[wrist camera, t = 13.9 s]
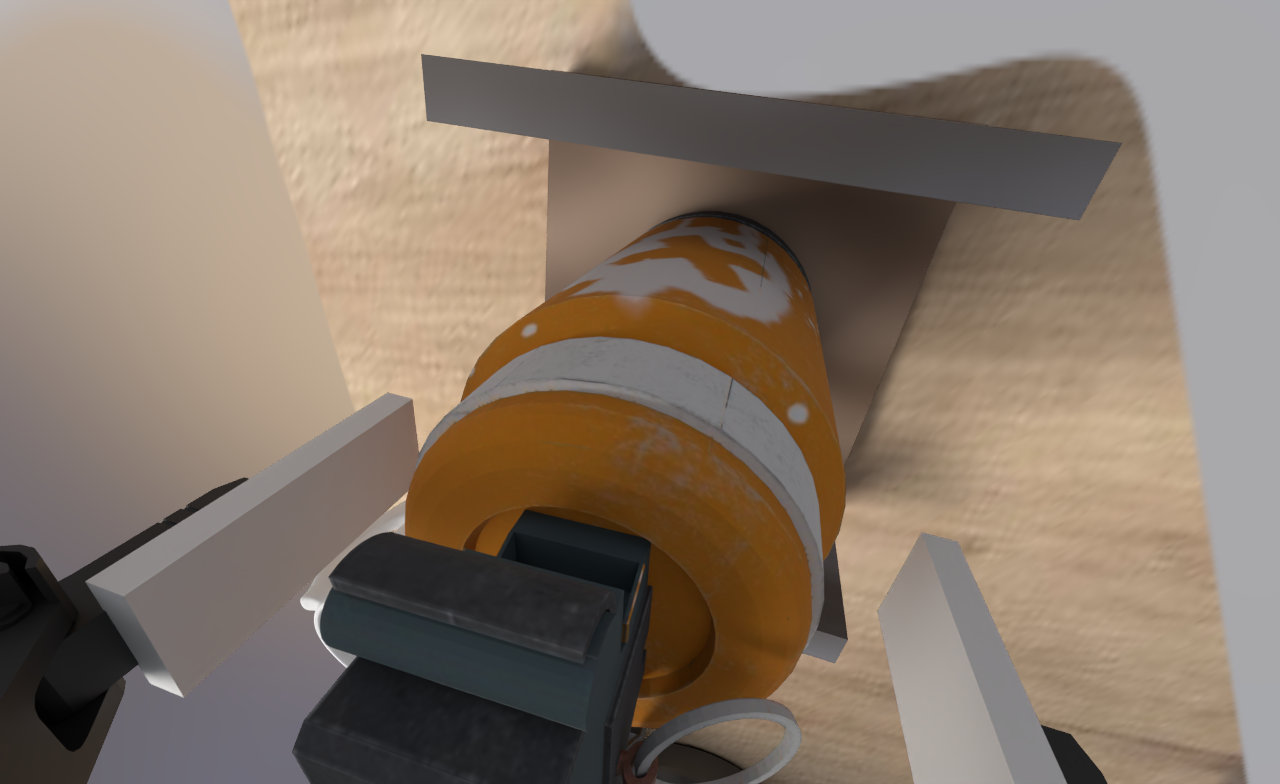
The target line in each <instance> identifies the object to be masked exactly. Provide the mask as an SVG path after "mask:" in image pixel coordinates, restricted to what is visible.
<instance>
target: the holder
mask: <svg viewBox="0 0 1280 784" xmlns="http://www.w3.org/2000/svg"><path fill="white" fill-rule="evenodd" d="M421 56H422V68H423V80H424V91H425V103H426V114H427V121H432V122H438V123H445V124H451V125H458V126H465V127H471V128H478V129H484V130H491V131H497V132H504V133H510V134H517V135H523V136H530V137H537V138H543V139H549V169H548V209H547V250H546V290H545V302H546V301H547V300H549V299H550V298H552V297H553V296H554V295H556V294H557V293H559V292H560V291H562V290H563V289H565V288H566V287H567V286H569V285H570V284H572V283H573V282H575V281H576V280H578V279H579V278H580V277H582V276H583V275H585V274H586V273H588V272H589V271H591V270H592V269H593V268H595V267H596V266H598V265H599V264H601V263H602V262H604V261H605V260H606V259H608V258H609V257H611V256H612V255H614V254H615V253H617V252H618V251H620V250H621V249H622V248H624V247H625V246H627V245H628V244H630V243H631V242H633V241H634V240H635V239H637V238H638V237H640V236H641V235H643V234H644V233H646V232H647V231H648V230H650V229H651V228H653V227H654V226H656V225H658V224H660V223H662V222H664V221H666V220H668V219H670V218H673V217H676V216H679V215H682V214H686V213H692V212H698V211H722V212H727V213H733V214H738V215H740V216H743V217H746V218H749V219H752V220H754V221H756V222H758V223H760V224H761V225H763V226H765V227H767V228H768V229H770V230H771V231H772V232H774V233H775V234H776V235H777V236H779V237H780V238H781V239H782V240H783V241H784V242H785V243H786V244H787V245H788V246H789V247H790V249H791V250H792V251H793V252H794V253H795V255H796V256H797V258H798V260H799V261H800V263H801V265H802V266H803V268H804V270H805V273H806V275H807V278H808V281H809V283H810V287H811V292H812V297H813V303H814V308H815V313H816V319H817V324H818V330H819V335H820V341H821V346H822V351H823V357H824V362H825V368H826V373H827V379H828V384H829V389H830V395H831V400H832V406H833V411H834V417H835V422H836V428H837V433H838V438H839V444H840V449H841V455H842V460H843V466H845V463H846V461H847V458H848V456H849V454H850V451H851V449H852V447H853V444H854V442H855V439H856V437H857V435H858V432H859V430H860V428H861V425H862V423H863V420H864V418H865V416H866V413H867V411H868V409H869V406H870V404H871V402H872V399H873V397H874V394H875V392H876V390H877V387H878V385H879V383H880V380H881V378H882V375H883V373H884V371H885V368H886V366H887V364H888V361H889V359H890V356H891V354H892V352H893V349H894V347H895V345H896V342H897V340H898V338H899V335H900V333H901V330H902V328H903V326H904V323H905V321H906V319H907V316H908V314H909V311H910V309H911V307H912V304H913V302H914V300H915V297H916V295H917V292H918V290H919V288H920V285H921V283H922V281H923V278H924V276H925V274H926V271H927V269H928V266H929V264H930V262H931V259H932V257H933V255H934V252H935V250H936V247H937V245H938V243H939V240H940V238H941V236H942V233H943V231H944V228H945V226H946V224H947V221H948V219H949V217H950V214H951V212H952V210H953V207H954V205H955V202H962V203H969V204H975V205H982V206H988V207H995V208H1002V209H1008V210H1015V211H1021V212H1028V213H1034V214H1041V215H1047V216H1054V217H1060V218H1067V219H1074V220H1080V218H1081V216H1082V215H1083V213H1084V211H1085V209H1086V207H1087V206H1088V204H1089V202H1090V200H1091V198H1092V197H1093V195H1094V193H1095V191H1096V189H1097V188H1098V186H1099V184H1100V182H1101V180H1102V178H1103V177H1104V175H1105V173H1106V171H1107V169H1108V168H1109V166H1110V164H1111V162H1112V160H1113V159H1114V157H1115V155H1116V153H1117V151H1118V149H1119V148H1120V146H1121V144H1122V143H1117V142H1109V141H1101V140H1093V139H1086V138H1078V137H1070V136H1062V135H1054V134H1046V133H1038V132H1030V131H1023V130H1015V129H1007V128H999V127H991V126H988V125H982V124H974V123H966V122H958V121H950V120H942V119H934V118H926V117H918V116H911V115H903V114H895V113H887V112H879V111H871V110H863V109H855V108H847V107H840V106H832V105H824V104H816V103H808V102H800V101H792V100H784V99H776V98H768V97H761V96H753V95H745V94H737V93H729V92H721V91H713V90H705V89H697V88H690V87H682V86H674V85H666V84H658V83H650V82H642V81H634V80H626V79H618V78H611V77H603V76H595V75H587V74H579V73H571V72H563V71H555V70H551V71H550V70H542V69H534V68H526V67H518V66H510V65H503V64H495V63H487V62H479V61H471V60H463V59H455V58H447V57H440V56H432V55H424V54H421ZM823 568H824V603H823V608H822V612H821V616H820V621H819V625H818V627H817V629H816V631H815V633H814V635H813V637H812V639H811V641H810V642H809V644H808V646H807V648H806V649H805V650H804V651H803V652H802V653H804V654H807V655H810V656H813V657H816V658H820V659H823V660H826V661H829V662H832V663H835V662H836V660H837V658H838V657H839V655H840V653H841V651H842V649H843V648H844V646H845V644H846V642H847V640H848V638H847V630H846V622H845V615H844V607H843V599H842V592H841V584H840V576H839V569H838V561H837V553H836V545H835V542H834V544H833V546H832V548H831V550H830V552H829V555H828V556H827V557H826V559H825V560H824V561H823Z"/></svg>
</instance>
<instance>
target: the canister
mask: <svg viewBox="0 0 1280 784" xmlns="http://www.w3.org/2000/svg"><path fill="white" fill-rule="evenodd" d="M845 495H846V476H845V471H844V466H843V460H842V455H841V449H840V444H839V438H838V433H837V428H836V422H835V417H834V411H833V406H832V400H831V395H830V389H829V384H828V379H827V373H826V368H825V362H824V357H823V351H822V346H821V341H820V335H819V330H818V324H817V319H816V313H815V308H814V303H813V297H812V292H811V287H810V283H809V281H808V278H807V275H806V273H805V270H804V268H803V266H802V265H801V263H800V261H799V260H798V258H797V256H796V255H795V253H794V252H793V251H792V250H791V249H790V247H789V246H788V245H787V244H786V243H785V242H784V241H783V240H782V239H781V238H780V237H779V236H777V235H776V234H775V233H774V232H772V231H771V230H770V229H768V228H767V227H765V226H763V225H761V224H760V223H758V222H756V221H754V220H752V219H749V218H746V217H743V216H740V215H738V214H733V213H727V212H722V211H698V212H692V213H686V214H682V215H679V216H676V217H673V218H670V219H668V220H666V221H664V222H662V223H660V224H658V225H656V226H654V227H653V228H651V229H650V230H648V231H647V232H646V233H644V234H643V235H641V236H640V237H638V238H637V239H635V240H634V241H633V242H631V243H630V244H628V245H627V246H625V247H624V248H622V249H621V250H620V251H618V252H617V253H615V254H614V255H612V256H611V257H609V258H608V259H606V260H605V261H604V262H602V263H601V264H599V265H598V266H596V267H595V268H593V269H592V270H591V271H589V272H588V273H586V274H585V275H583V276H582V277H580V278H579V279H578V280H576V281H575V282H573V283H572V284H570V285H569V286H567V287H566V288H565V289H563V290H562V291H560V292H559V293H557V294H556V295H554V296H553V297H552V298H550V299H549V300H547V301H546V302H544V303H543V304H541V305H540V306H539V307H537V308H536V309H534V310H533V311H531V312H530V313H528V314H527V315H526V316H524V317H523V318H521V319H520V320H518V321H517V322H516V323H514V324H513V325H512V326H511V327H509V328H508V329H507V330H505V331H504V332H503V333H502V334H500V335H499V336H498V337H496V338H495V340H494V341H493V342H492V343H491V344H490V345H489V347H488V348H487V349H486V350H485V351H484V353H483V354H482V355H481V356H480V357H479V359H478V361H477V363H476V364H475V366H474V368H473V370H472V372H471V374H470V375H469V377H468V379H467V382H466V386H465V389H464V392H463V395H462V399H461V402H460V403H459V404H458V405H457V406H456V407H455V408H454V409H452V410H451V411H450V412H449V413H448V414H447V415H446V416H445V417H444V418H443V419H442V420H441V421H440V422H439V424H438V425H437V426H436V427H435V428H434V429H433V430H432V432H431V433H430V434H429V436H428V438H427V440H426V442H425V443H424V445H423V447H422V449H421V451H420V453H419V455H418V459H417V463H416V467H415V471H414V474H413V478H412V481H411V484H410V488H409V491H408V495H407V499H406V504H405V536H404V535H401V534H397V533H393V532H384V533H380V534H377V535H374V536H372V537H370V538H368V539H366V540H365V541H363V542H361V543H360V544H359V545H358V546H356V547H355V548H354V549H352V550H351V551H350V552H349V553H348V554H347V555H346V556H345V557H344V558H343V559H342V560H341V561H340V562H339V564H338V565H337V566H336V567H335V569H334V570H333V571H332V573H331V574H330V575H329V577H328V578H329V580H330V582H331V584H332V588H331V590H330V591H329V594H328V596H327V598H326V600H325V603H324V606H323V609H322V613H321V619H320V633H321V637H322V640H323V641H324V643H325V644H326V645H328V646H329V647H331V648H334V649H337V650H340V651H343V652H346V653H349V654H352V655H355V656H356V658H355V659H354V660H353V661H352V662H351V664H350V665H349V666H348V667H347V669H346V670H345V671H344V672H343V673H342V675H341V676H340V677H339V678H338V679H337V681H336V682H335V683H334V684H333V686H332V687H331V688H330V689H329V690H328V692H327V693H326V694H325V695H324V696H323V698H322V699H321V700H320V701H319V703H318V704H317V705H316V706H315V707H314V709H313V710H312V711H311V712H310V713H309V715H308V716H307V717H306V718H305V720H304V722H303V724H302V727H301V729H300V732H299V735H298V738H297V740H296V742H295V745H294V748H293V750H292V753H293V755H294V756H295V758H296V760H297V762H298V763H299V765H300V767H301V768H302V770H303V772H304V774H305V775H306V777H307V779H308V780H309V782H310V784H674V783H668V782H664V781H661V780H659V779H656V776H657V769H658V757H657V756H658V754H660V753H661V752H662V751H663V750H664V749H665V748H666V747H668V746H669V745H671V744H672V743H673V742H675V741H677V740H678V739H680V738H682V737H684V736H686V735H688V734H690V733H692V732H694V731H696V730H699V729H702V728H704V727H707V726H710V725H714V724H717V723H721V722H726V721H730V720H738V719H765V720H770V721H774V722H776V723H779V724H781V725H782V726H784V727H785V732H784V736H783V738H782V740H781V742H780V743H779V744H778V746H777V747H776V748H775V749H774V750H773V751H772V752H771V753H770V754H769V755H767V756H766V757H765V758H764V759H762V760H761V761H759V762H758V763H756V764H754V765H753V766H751V767H749V768H747V769H745V770H743V771H741V772H738V773H736V774H733V775H731V776H728V777H725V778H721V779H718V780H714V781H709V782H704V783H697V784H759V783H760V782H762V781H764V780H766V779H768V778H769V777H771V776H772V775H774V774H775V773H777V772H778V771H779V770H780V769H782V768H783V767H784V766H785V765H786V764H787V763H788V762H789V761H790V760H791V759H792V758H793V756H794V755H795V754H796V752H797V750H798V749H799V747H800V743H801V731H800V729H799V726H798V724H797V722H796V720H795V718H794V716H793V714H792V713H791V711H790V710H789V709H788V708H787V707H785V706H784V705H782V704H780V703H777V702H775V701H771V700H767V699H766V698H767V697H768V696H770V695H771V694H772V693H773V692H774V691H776V690H777V689H778V688H779V686H780V685H781V684H782V683H783V682H784V681H785V680H786V678H787V677H788V676H789V675H790V674H791V673H792V671H793V669H794V667H795V665H796V663H797V662H798V660H799V658H800V656H801V654H802V652H803V651H804V650H805V649H806V648H807V646H808V644H809V642H810V641H811V639H812V637H813V635H814V633H815V631H816V629H817V627H818V625H819V621H820V616H821V612H822V608H823V603H824V568H823V561H824V560H825V559H826V557H827V556H828V555H829V552H830V550H831V548H832V546H833V544H834V542H835V540H836V538H837V536H838V534H839V531H840V527H841V522H842V518H843V514H844V510H845ZM646 728H653V729H657V730H656V731H654V732H653V733H652V734H651V735H650V736H649V737H648V738H647V739H646V740H645V741H643V738H644V733H645V729H646ZM648 770H649V772H648ZM635 774H636V777H635Z"/></svg>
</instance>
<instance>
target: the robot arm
mask: <svg viewBox="0 0 1280 784" xmlns="http://www.w3.org/2000/svg"><path fill="white" fill-rule="evenodd" d="M418 455H419V450H418V441H417V433H416V425H415V416H414V408H413V400H412V399H410V398H407V397H403V396H399V395H395V394H391V393H386V394H385V395H383V396H382V397H380V398H378V399H377V400H375V401H374V402H372V403H370V404H369V405H367V406H366V407H364V408H362V409H361V410H359V411H358V412H356V413H354V414H353V415H351V416H350V417H348V418H346V419H345V420H343V421H342V422H340V423H338V424H337V425H335V426H333V427H332V428H330V429H329V430H327V431H325V432H324V433H322V434H321V435H319V436H317V437H316V438H314V439H313V440H311V441H310V442H308V443H306V444H305V445H303V446H302V447H300V448H298V449H297V450H295V451H294V452H292V453H290V454H289V455H287V456H285V457H284V458H282V459H281V460H279V461H278V462H276V463H274V464H273V465H271V466H270V467H268V468H266V469H265V470H263V471H261V472H260V473H258V474H257V475H255V476H253V477H252V478H250V479H248V478H242V479H239V480H236V481H233V482H231V483H228V484H226V485H223V486H220V487H218V488H215V489H213V490H211V491H209V492H208V493H206V494H204V495H203V496H201V497H199V498H198V499H196V500H195V501H193V502H191V503H190V504H188V505H186V508H185V509H180V510H178V511H176V512H175V513H173V514H171V515H170V516H168V517H166V518H165V519H164V521H163V522H162V523H156V524H155V525H153V526H151V527H150V528H148V529H146V530H145V531H143V532H141V533H140V534H138V535H136V536H135V537H133V538H131V539H130V540H128V541H127V542H125V543H123V544H121V545H120V546H118V547H116V548H115V549H114V550H111V551H110V552H108V553H107V554H105V555H103V556H102V557H100V558H98V559H97V560H95V561H93V562H92V563H90V564H88V565H87V566H85V567H83V568H82V569H80V570H78V571H77V572H75V573H73V574H72V575H70V576H68V577H66V578H64V579H62V580H61V581H59V582H58V581H57V580H56V578H55V577H54V575H53V574H52V573H51V571H50V569H49V568H48V567H47V565H46V564H45V562H44V561H43V559H42V558H41V556H40V555H39V554H38V552H37V551H36V550H35V548H33V547H28V546H24V545H10V546H0V784H87V782H88V779H89V777H90V774H91V772H92V770H93V767H94V765H95V762H96V760H97V758H98V755H99V753H100V750H101V748H102V745H103V743H104V740H105V738H106V736H107V733H108V731H109V728H110V726H111V724H112V721H113V719H114V716H115V714H116V711H117V709H118V706H119V704H120V701H121V699H122V697H123V694H124V689H125V683H126V681H125V680H124V678H123V676H124V675H125V674H127V673H128V672H129V671H130V670H132V669H133V668H134V667H135V666H137V665H139V667H140V668H141V670H142V671H143V673H144V674H145V676H146V678H147V679H148V681H149V682H150V684H152V685H155V686H157V687H160V688H162V689H164V690H167V691H169V692H172V693H174V694H176V695H179V696H181V697H185V696H187V695H188V694H189V693H190V692H191V691H192V690H193V689H194V688H195V687H196V686H197V685H198V684H200V683H201V682H202V681H203V680H204V679H205V678H206V677H207V676H208V675H209V674H210V673H211V672H212V671H214V670H215V669H216V668H217V667H218V666H219V665H220V664H221V663H222V662H223V661H224V660H225V659H227V658H228V657H229V656H230V655H231V654H232V653H233V652H234V651H235V650H236V649H237V648H238V647H240V646H241V645H242V644H243V643H244V642H245V641H246V640H247V639H248V638H249V637H250V636H252V635H253V634H254V633H255V632H256V631H257V630H258V629H259V628H260V627H261V626H262V625H263V624H265V622H267V621H268V620H269V619H270V618H271V617H272V616H273V615H274V614H275V613H276V612H277V611H279V610H280V609H281V608H282V607H283V606H284V605H285V604H286V603H287V602H288V601H289V600H291V599H292V598H293V597H294V596H295V595H296V594H297V593H298V592H299V591H300V590H301V589H302V588H303V587H305V585H307V584H308V583H309V582H310V581H311V580H312V579H313V578H314V577H315V576H317V575H318V574H319V573H320V572H321V571H322V570H323V569H324V568H325V567H326V566H327V565H328V564H330V563H331V562H332V561H333V560H334V559H335V558H336V557H337V556H338V555H339V554H340V553H341V552H343V551H344V550H345V549H346V548H347V547H348V546H349V545H350V544H351V543H352V542H353V541H354V540H356V539H357V538H358V537H359V536H360V535H361V534H362V533H363V532H364V531H365V530H366V529H367V528H369V527H370V526H371V525H372V524H373V523H374V522H375V521H376V520H377V519H378V518H379V517H380V516H382V515H383V514H384V513H385V512H386V511H387V510H388V509H389V508H390V507H391V506H392V505H393V504H395V503H396V502H397V501H398V500H399V499H400V498H401V497H402V496H403V495H404V494H405V493H406V492H408V491H409V488H410V484H411V481H412V478H413V474H414V471H415V467H416V463H417V459H418ZM878 616H879V620H880V625H881V630H882V634H883V639H884V644H885V649H886V653H887V658H888V663H889V668H890V672H891V677H892V682H893V686H894V691H895V696H896V701H897V705H898V710H899V715H900V720H901V724H902V729H903V734H904V738H905V743H906V748H907V753H908V757H909V762H910V767H911V772H912V776H913V781H914V784H1107V782H1106V780H1105V778H1104V776H1103V774H1102V773H1101V771H1100V770H1099V769H1098V768H1097V766H1096V765H1095V764H1094V763H1093V761H1092V760H1091V759H1090V758H1089V756H1088V755H1087V754H1086V753H1085V752H1084V750H1083V749H1082V748H1081V747H1080V745H1079V744H1078V743H1077V742H1076V740H1075V739H1074V738H1073V737H1072V735H1071V734H1068V733H1065V732H1062V731H1059V730H1055V729H1052V728H1049V727H1046V726H1043V725H1040V723H1039V720H1038V718H1037V716H1036V714H1035V712H1034V709H1033V707H1032V705H1031V703H1030V701H1029V698H1028V696H1027V694H1026V692H1025V689H1024V687H1023V685H1022V683H1021V681H1020V678H1019V676H1018V674H1017V672H1016V670H1015V667H1014V665H1013V663H1012V661H1011V659H1010V656H1009V654H1008V652H1007V650H1006V647H1005V645H1004V643H1003V641H1002V639H1001V636H1000V634H999V632H998V630H997V628H996V625H995V623H994V621H993V619H992V617H991V614H990V612H989V610H988V608H987V605H986V603H985V601H984V599H983V597H982V594H981V592H980V590H979V588H978V586H977V583H976V581H975V579H974V577H973V575H972V572H971V570H970V568H969V566H968V563H967V561H966V559H965V557H964V555H963V552H962V550H961V548H960V546H959V544H958V542H957V541H953V540H949V539H945V538H941V537H937V536H934V535H930V534H926V533H921V534H920V536H919V538H918V540H917V542H916V543H915V545H914V547H913V549H912V550H911V552H910V554H909V556H908V558H907V559H906V561H905V563H904V565H903V567H902V568H901V570H900V572H899V574H898V575H897V577H896V579H895V581H894V583H893V584H892V586H891V588H890V590H889V591H888V593H887V595H886V597H885V599H884V600H883V602H882V604H881V606H880V607H879V609H878ZM657 757H658V769H657V776H656V779H659V780H661V781H664V782H668V783H674V784H697V783H704V782H709V781H714V780H718V779H721V778H725V777H728V776H731V775H733V774H736V773H738V772H741V771H742V770H740V769H739V768H737V767H735V766H734V765H732V764H730V763H728V762H726V761H724V760H722V759H720V758H718V757H716V756H714V755H711V754H709V753H706V752H703V751H700V750H697V749H694V748H690V747H686V746H682V745H677V744H671V745H669V746H668V747H666V748H665V749H664V750H663V751H662V752H661V753H660V754H658V756H657ZM648 772H649V770H648ZM635 777H636V774H635Z"/></svg>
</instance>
